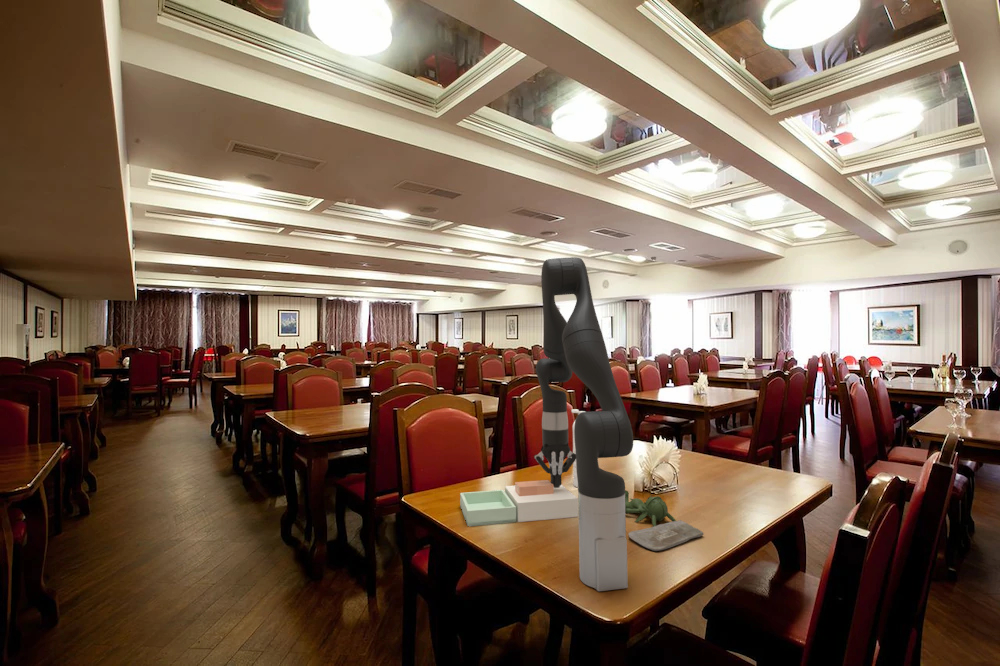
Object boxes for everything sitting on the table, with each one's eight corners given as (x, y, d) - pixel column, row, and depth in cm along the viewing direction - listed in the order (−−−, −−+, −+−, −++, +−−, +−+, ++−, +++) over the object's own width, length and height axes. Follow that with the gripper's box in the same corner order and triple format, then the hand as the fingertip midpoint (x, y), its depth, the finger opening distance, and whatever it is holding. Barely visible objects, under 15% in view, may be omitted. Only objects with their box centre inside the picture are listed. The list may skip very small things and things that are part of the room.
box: (516, 522, 125) (516, 507, 125) (467, 526, 122) (467, 511, 122) (503, 503, 140) (503, 489, 140) (460, 506, 138) (460, 492, 138)
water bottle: (596, 487, 155) (595, 411, 156) (580, 489, 153) (578, 412, 154) (582, 480, 163) (581, 408, 164) (566, 482, 161) (565, 409, 162)
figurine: (632, 487, 140) (681, 494, 123) (635, 515, 139) (685, 525, 122) (602, 493, 135) (649, 501, 118) (605, 521, 134) (653, 533, 117)
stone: (654, 550, 104) (623, 530, 113) (654, 562, 105) (623, 542, 114) (709, 529, 113) (676, 512, 122) (709, 540, 113) (676, 522, 122)
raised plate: (578, 516, 128) (577, 498, 128) (518, 522, 125) (517, 503, 125) (559, 498, 144) (558, 482, 144) (505, 503, 140) (504, 486, 141)
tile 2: (553, 493, 133) (553, 484, 133) (536, 494, 132) (536, 486, 132) (548, 488, 138) (548, 479, 138) (531, 489, 137) (531, 481, 137)
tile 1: (536, 494, 132) (536, 485, 132) (519, 496, 131) (519, 487, 131) (531, 489, 137) (531, 481, 137) (515, 491, 136) (515, 482, 136)
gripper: (536, 430, 131) (537, 492, 131) (581, 427, 134) (582, 489, 133) (529, 425, 139) (530, 485, 138) (572, 423, 141) (573, 481, 141)
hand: (556, 486), depth 136 cm, fingers closed
